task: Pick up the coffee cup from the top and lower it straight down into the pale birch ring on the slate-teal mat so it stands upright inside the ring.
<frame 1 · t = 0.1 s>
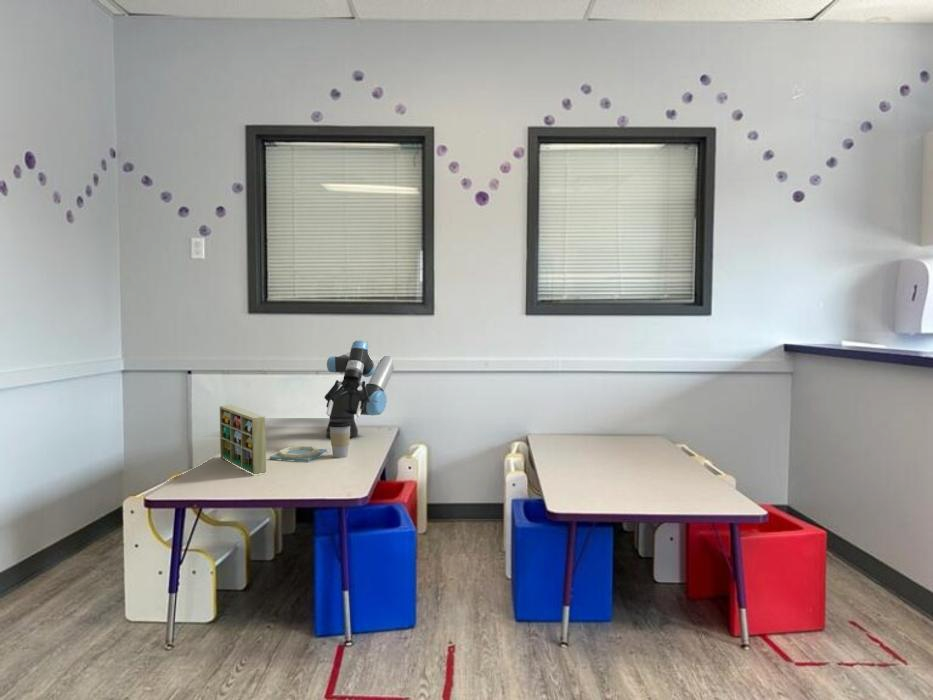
hand: (342, 415, 254), 15 cm above the table, tool tilted 35°, fingers open, 13 cm apart
coffee cup: (340, 456, 246), on the table
beige cubby shelf: (242, 466, 231), on the table
ring mat: (299, 455, 246), on the table
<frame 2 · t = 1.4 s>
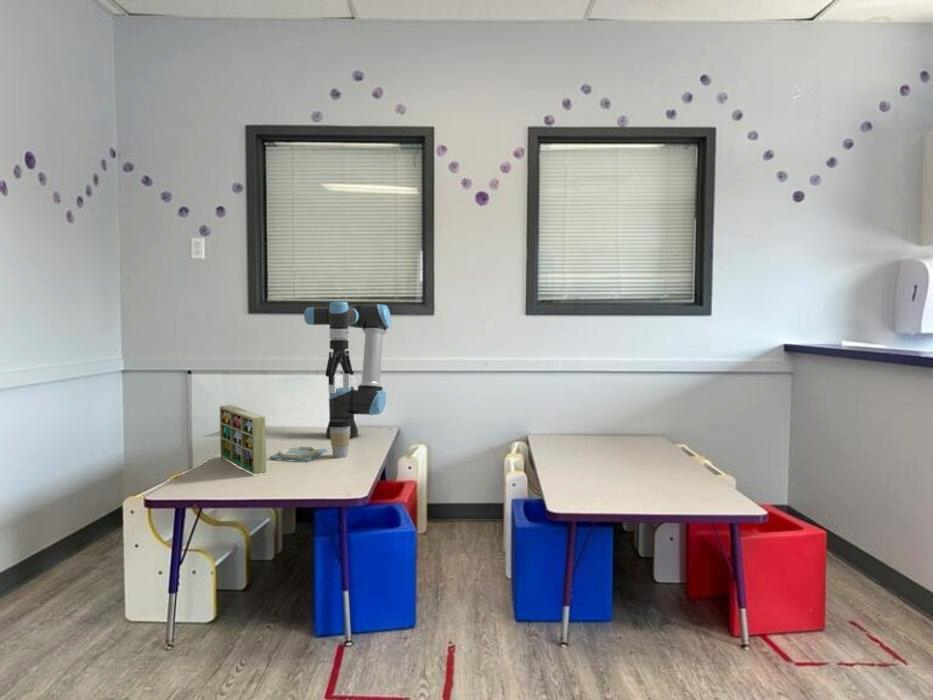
hand: (339, 391, 244), 27 cm above the table, tool pointing down, fingers open, 13 cm apart
nothing on the table moved.
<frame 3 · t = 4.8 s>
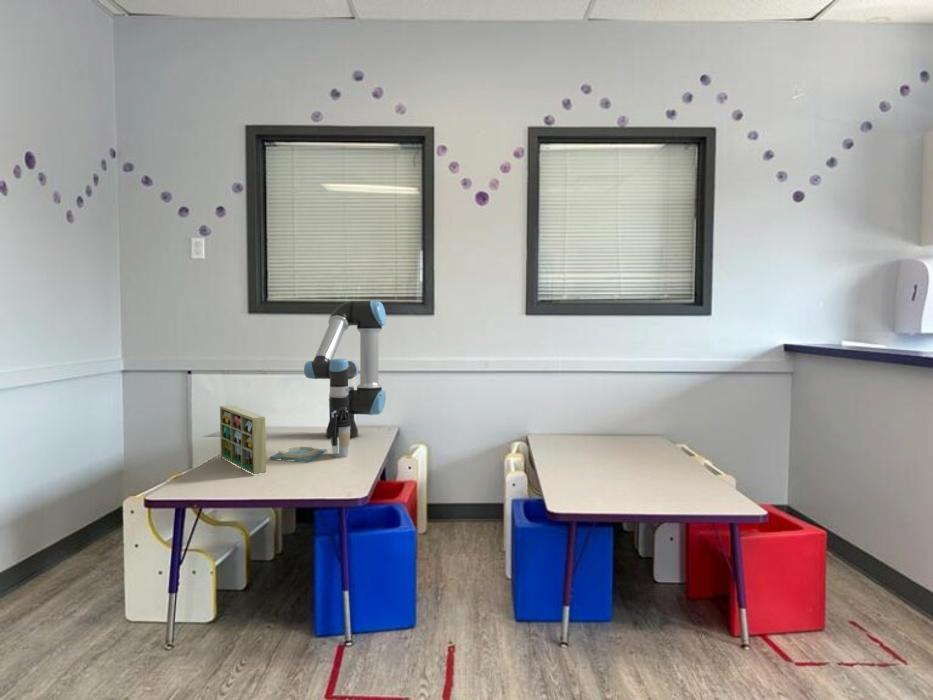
hand: (340, 450, 245), 2 cm above the table, tool pointing down, fingers closed on coffee cup, 8 cm apart
coffee cup: (340, 456, 246), on the table, touching gripper
everything else where it was.
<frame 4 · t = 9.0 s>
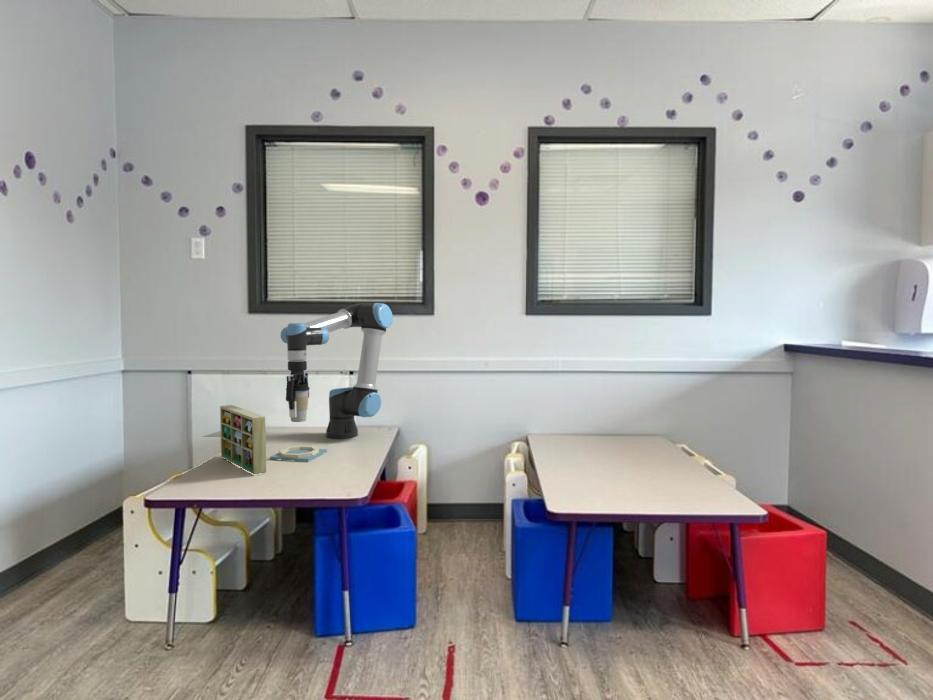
hand: (298, 415, 245), 17 cm above the table, tool pointing down, fingers closed on coffee cup, 8 cm apart
coffee cup: (298, 421, 245), point 15 cm above the table, touching gripper
everything else where it was.
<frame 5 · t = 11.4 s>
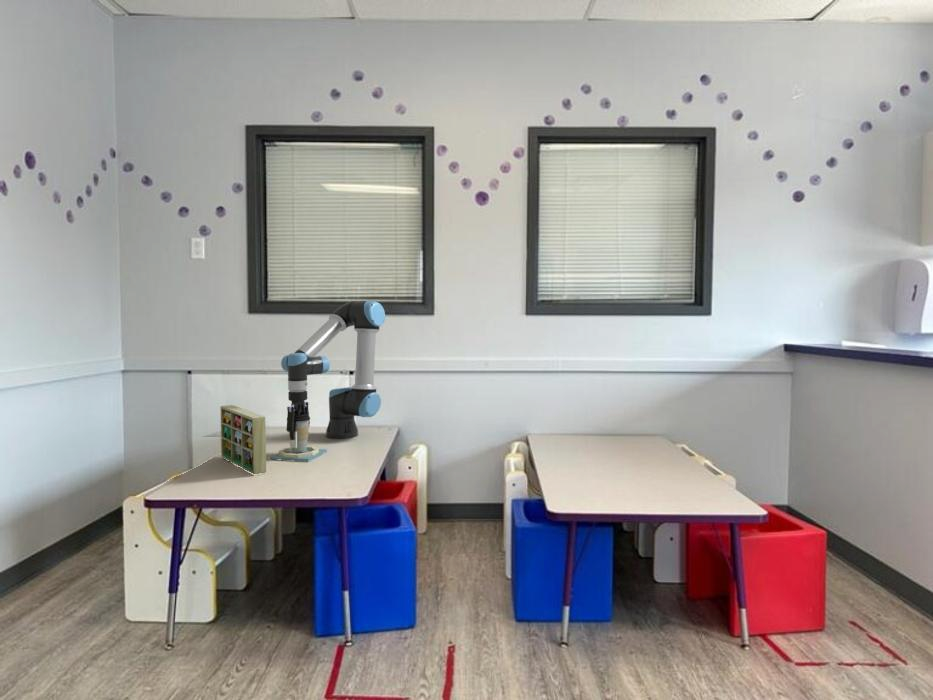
hand: (298, 445, 246), 5 cm above the table, tool pointing down, fingers closed on coffee cup, 8 cm apart
coffee cup: (299, 450, 246), point 2 cm above the table, touching gripper
everything else where it was.
when the fingers open (4 cm above the table, at t = 13.2 s): coffee cup stays where it is, resting on ring mat.
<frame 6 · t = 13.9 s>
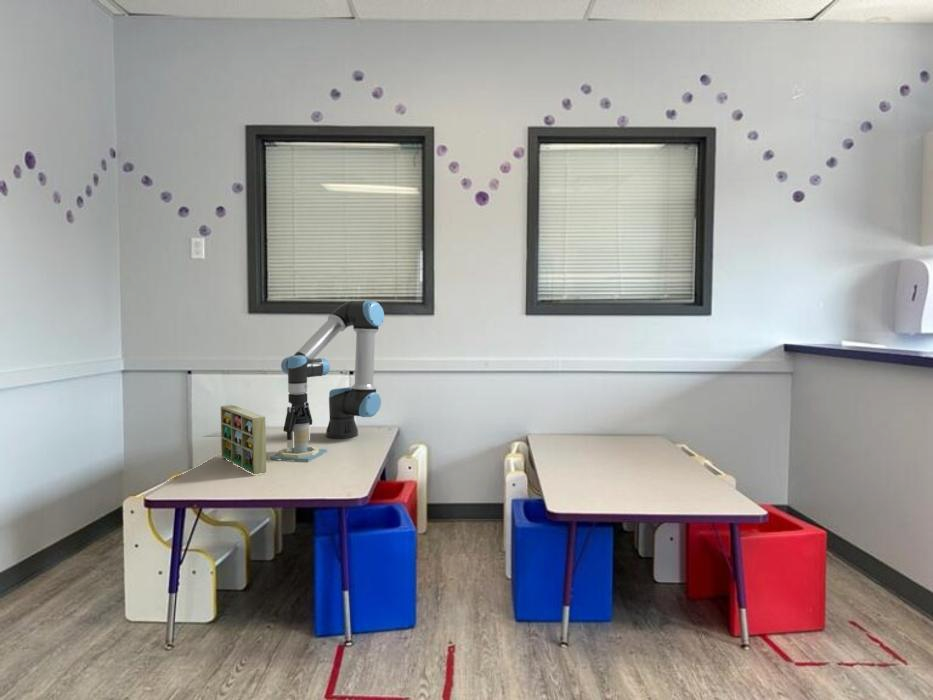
hand: (298, 443, 246), 5 cm above the table, tool pointing down, fingers open, 13 cm apart
coffee cup: (299, 453, 246), point 1 cm above the table, touching ring mat
everything else where it was.
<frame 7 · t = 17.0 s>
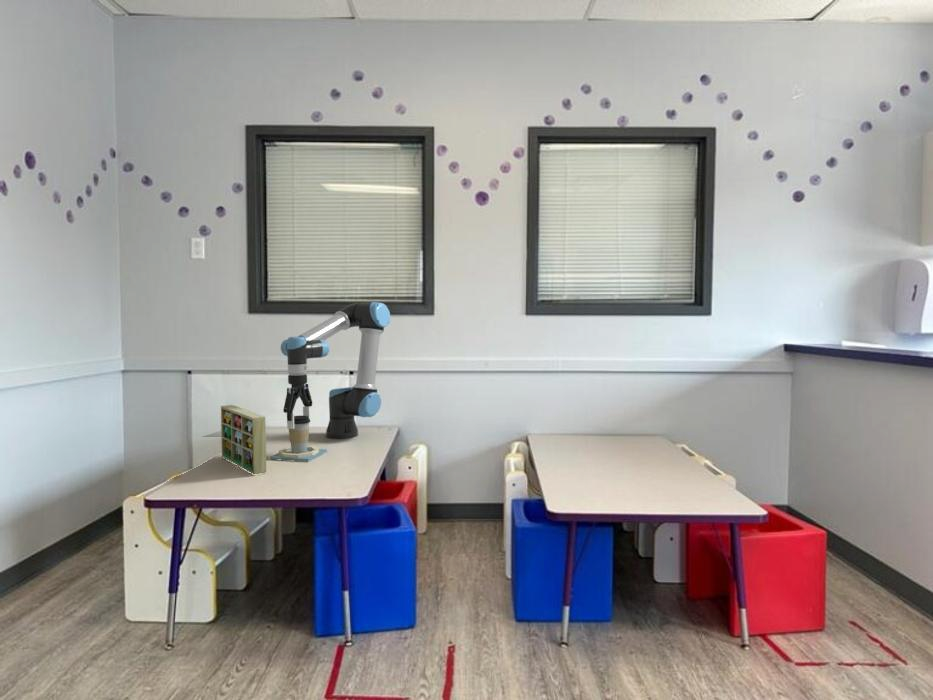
hand: (299, 425, 246), 13 cm above the table, tool pointing down, fingers open, 13 cm apart
nothing on the table moved.
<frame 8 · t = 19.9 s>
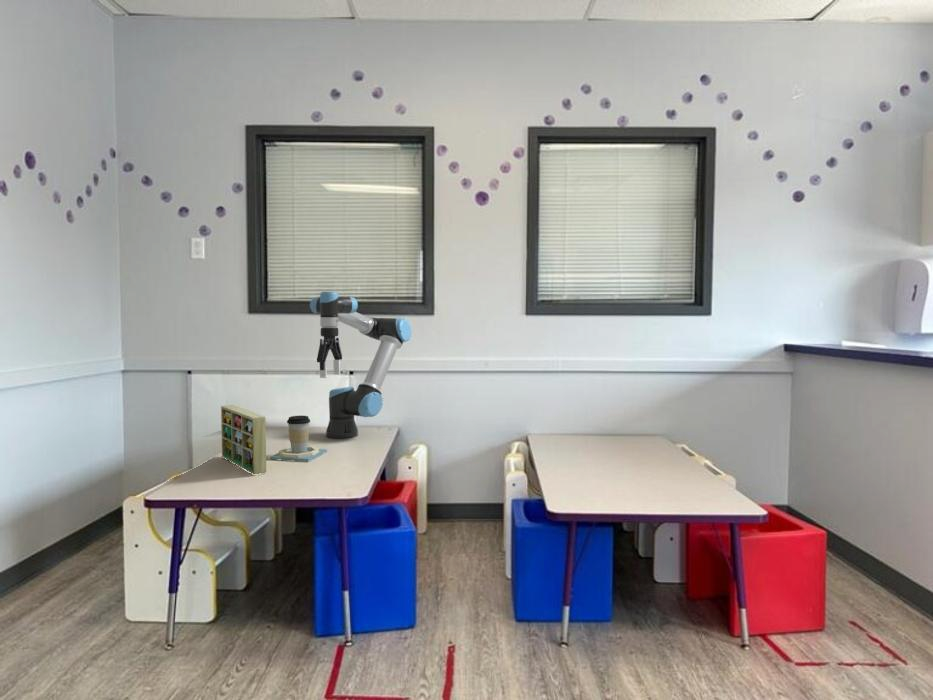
hand: (330, 376, 258), 32 cm above the table, tool pointing down, fingers open, 13 cm apart
nothing on the table moved.
at the end: coffee cup 0.1 cm off-centre on the ring mat, point 1.0 cm above the ring mat's base; coffee cup tilted 0°; the gripper is holding nothing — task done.
